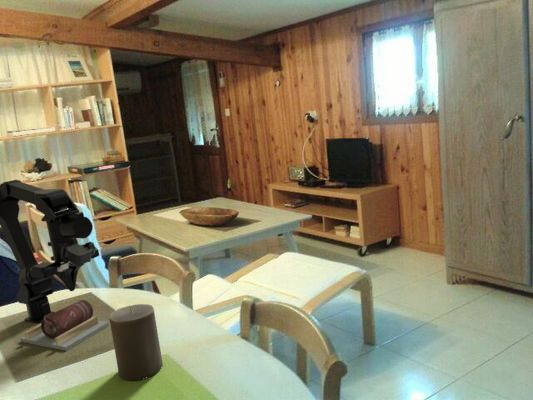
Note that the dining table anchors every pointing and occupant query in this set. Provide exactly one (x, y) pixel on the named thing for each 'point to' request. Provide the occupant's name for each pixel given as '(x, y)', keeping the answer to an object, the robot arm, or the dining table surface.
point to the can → (66, 318)
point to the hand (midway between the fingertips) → (72, 290)
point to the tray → (65, 335)
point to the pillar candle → (136, 341)
